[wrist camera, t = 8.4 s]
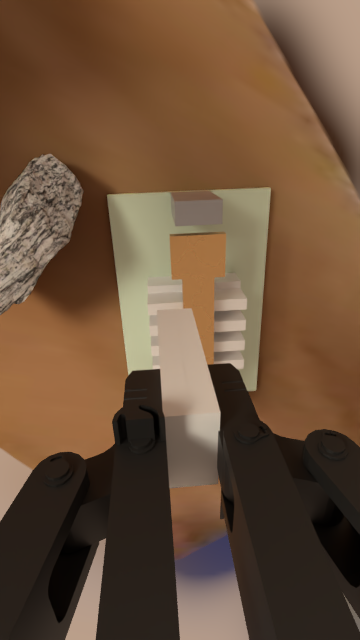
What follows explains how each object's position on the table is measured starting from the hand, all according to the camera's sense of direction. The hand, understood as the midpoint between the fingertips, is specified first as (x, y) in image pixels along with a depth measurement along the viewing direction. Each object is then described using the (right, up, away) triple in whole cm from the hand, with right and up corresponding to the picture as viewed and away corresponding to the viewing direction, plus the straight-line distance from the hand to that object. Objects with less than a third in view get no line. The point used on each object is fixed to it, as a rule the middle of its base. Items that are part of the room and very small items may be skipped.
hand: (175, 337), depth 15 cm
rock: (-15, +11, +22) cm, 29 cm away
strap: (+2, -1, +21) cm, 21 cm away
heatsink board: (+2, +3, +27) cm, 27 cm away
